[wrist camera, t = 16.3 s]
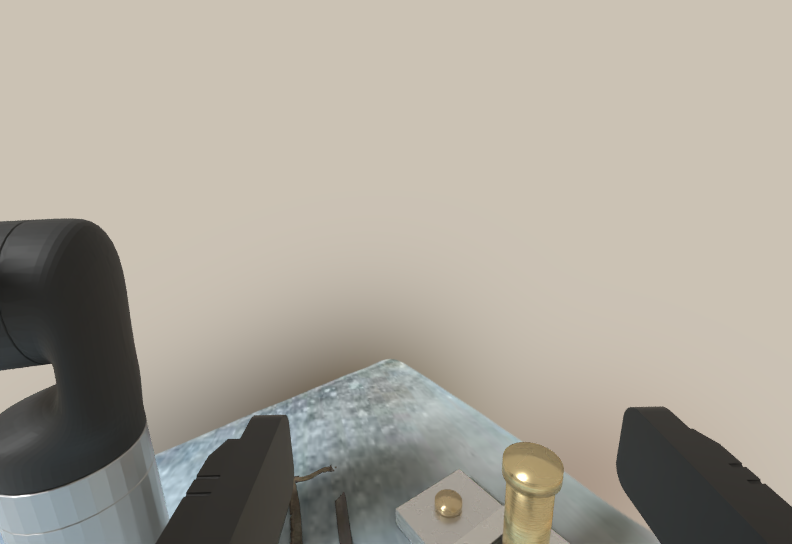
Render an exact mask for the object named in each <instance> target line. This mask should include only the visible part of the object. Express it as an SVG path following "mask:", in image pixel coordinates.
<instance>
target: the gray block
mask: <svg viewBox="0 0 792 544" xmlns="http://www.w3.org/2000/svg"><path fill="white" fill-rule="evenodd" d="M504 510H505V505H504V506H502V505H501V504H500V503H499V502H498V501H496V500H495V499H494V498H493V497H492V496H491V495H489V494H488V493H487V492H486V491H485V490H483V489H482V488H481V487H480V486H479V485H478V484H476V483H475V482H474V481H473V480H472V479H471V478H469V477H468V476H467V475H466V474H465V473H463V472H462V471H461V470H460V469H458V470H457V471H455V472H454V473H452V474H451V475H449V476H447V477H446V478H444V479H443V480H441V481H439V482H438V483H436V484H435V485H433V486H431V487H430V488H428V489H427V490H425V491H423V492H422V493H420V494H419V495H417V496H415V497H414V498H412V499H411V500H409V501H407V502H406V503H404V504H403V505H401V506H399V507H398V508H396V525H397V526H398V527H399V528H400V530H401V531H402V532H403V533H404V534H405V536H406V537H407V538H408V539H409V540H410V542H411V543H412V544H502V538H503V524H504ZM549 544H570V543H568V542H567V541H566V540H565V539H564V538H562V537H561V536H560V535H559V534H557V533H556V532H555V531H554V530H552V529H551V535H550V543H549Z"/></svg>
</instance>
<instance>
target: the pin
mask: <svg viewBox="0 0 792 544" xmlns="http://www.w3.org/2000/svg"><path fill="white" fill-rule="evenodd" d="M502 473H503V477H504V479H505V480H506V496H505V510H504V524H503V538H502V544H549V543H550V535H551V526H552V517H553V508H554V499H555V494H557V493H558V492H559V491H560V489H561V487H562V481H563V473H564V467H563V464H562V462H561V460H560V458H559V457H558V456H557V455H556V454H555V453H554V452H552V451H551V450H549V449H548V448H546V447H544V446H541V445H539V444H535V443H530V442H519V443H515V444H512V445H510V446H509V447H507V448H506V449H505V451H504V453H503V462H502Z"/></svg>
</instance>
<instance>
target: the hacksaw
mask: <svg viewBox="0 0 792 544" xmlns="http://www.w3.org/2000/svg"><path fill="white" fill-rule="evenodd" d="M335 468H337V467H335ZM327 471H331V472H332V471H334V470H333V468H332V467H331V466H330V467H329V466H328V467H324V468H322V469H320V470H318V471H316V472H314V473H312V474H310V475H308V476H304V477H299V476H294V485H293V492H292V497H291V501H290V504H289V507H290V515H292V516H291V518H290V521H291V524H290V525H291V534H290V535H291V542H290V544H302V527H301V514H300V505H299V499H298V493H297V490H296V484H295V482H296V483H298V482H302V481H306V480H309V479H312V478H313V477H315V476H316V475H318V474H320V473H322V472H327ZM345 499H346V497H345V493H344V492H343V493H342V495H340V497H339V498H338V499H337V500H336V501H335V506H336V515H337V524H338V533H339V542H340V544H352V541H351V540H352V539H351V532H350V525H349V520H348V519H349V518H348V512H347V511H348V510H347V504H346V500H345Z"/></svg>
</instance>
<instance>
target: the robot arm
mask: <svg viewBox="0 0 792 544" xmlns="http://www.w3.org/2000/svg"><path fill="white" fill-rule="evenodd" d="M45 364H52V365H53V367H54V373H55V378H56V385H53V386H51V387H49V388H46V389H44V390H42V391H40V392H37V393H35V394H33V395H31V396H29V397H27V398H25V399H23V400H21V401H20V402H18V403H16V404H14V405H13V406H11V407H10V408H8V409H6V410H5V411H4V412H2V413H1V414H0V532H1V535H2V538H3V540H4V543H5V544H278V541H279V538H280V535H281V531H282V528H283V524H284V521H285V518H286V514H287V511H288V507H289V504H290V501H291V497H292V492H293V485H294V464H293V455H292V446H291V437H290V428H289V420H288V417H287V415H256V416H253V417H252V418H251V420H250V421H249V423H248V425H247V427H246V429H245V431H244V433H243V434H242V436H241V438H240V439H228V440H226V441H225V442H224V443H223V444H222V445H221V446H220V447H218V448H217V449H216V450H215V451H214V452H213V453H212V454H210V455H209V456H208V458H207V460H206V461H205V463H204V465H203V466H202V468H201V469H200V471H199V473H198V474H197V478H196V480H194V481H193V483H192V484H191V486H190V487H189V489H188V491H187V492H186V497H183V499H182V501H181V502H180V504H179V505H178V507H177V509H176V510H175V512H174V514H173V515H172V517H171V519H170V520H169V516H168V511H167V507H166V502H165V498H164V494H163V489H162V485H161V481H160V476H159V472H158V467H157V463H156V459H155V454H154V450H153V447H152V442H151V438H150V434H149V429H148V425H147V420H146V415H145V411H144V406H143V400H142V399H143V398H142V388H141V377H140V370H139V364H138V359H137V355H136V350H135V344H134V338H133V332H132V326H131V319H130V312H129V306H128V297H127V291H126V285H125V279H124V274H123V270H122V266H121V263H120V259H119V256H118V253H117V251H116V249H115V247H114V244H113V242H112V241H111V240H110V238H109V237H108V235H107V234H106V233H105V232H104V231H103V230H102V229H101V228H100V227H99V226H98V225H96V224H94V223H93V222H90V221H87V220H83V219H45V220H43V219H42V220H22V221H3V222H0V370H7V369H15V368H23V367H29V366H37V365H45ZM616 467H617V474H618V477H619V481H620V483H621V486H622V488H623V489H624V491H625V493H626V494H627V496H628V497H629V498H630V500H631V501H632V503H633V504H634V506H635V507H636V508H637V510H638V511H639V513H640V514H641V516H642V517H643V518H644V520H645V521H646V523H647V524H648V526H650V529H651V530H652V531H653V533H654V534H655V536H656V537H657V539H658V540H659V541H660V543H661V544H792V507H791V506H790V505H789V504H788V503H787V502H786V501H784V500H783V499H782V498H781V497H780V496H779V495H778V494H776V493H775V492H774V491H773V490H772V489H771V488H769V487H768V486H767V485H766V484H762V483H761V482H760V479H759V478H758V477H757V476H756V475H755V474H754V473H752V472H751V471H750V470H749V469H747V467H743V466H742V463H741V462H740V461H739V460H737V459H736V458H735V457H734V456H733V455H731V453H729V452H728V451H727V450H726V449H725V448H724V447H722V446H721V445H720V444H719V443H717V442H715V441H713V440H712V439H710V438H708V437H706V436H704V435H703V434H701V433H699V432H697V431H696V430H694V429H690V428H689V427H687V426H686V425H685V424H684V423H683V422H682V421H681V420H680V419H679V418H678V417H677V416H675V415H674V414H673V413H672V412H671V411H670V410H668V409H667V408H665V407H630V408H628V409H627V410H626V411H625V413H624V417H623V423H622V429H621V436H620V442H619V448H618V454H617V461H616Z"/></svg>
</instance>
